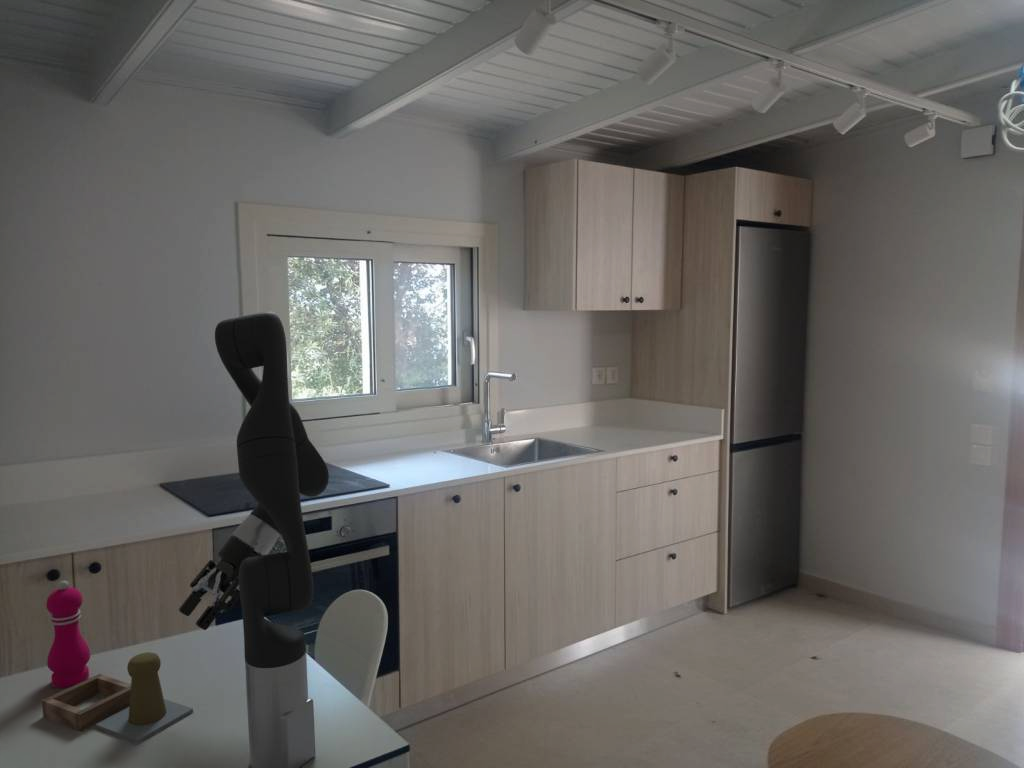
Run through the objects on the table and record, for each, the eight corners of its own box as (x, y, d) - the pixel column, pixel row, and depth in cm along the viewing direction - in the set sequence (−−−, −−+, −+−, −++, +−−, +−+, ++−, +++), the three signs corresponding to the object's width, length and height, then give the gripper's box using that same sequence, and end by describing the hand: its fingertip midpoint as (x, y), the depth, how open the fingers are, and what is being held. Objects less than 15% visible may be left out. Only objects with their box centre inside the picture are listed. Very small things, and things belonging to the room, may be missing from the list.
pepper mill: (54, 674, 149) (47, 576, 147) (95, 668, 151) (88, 572, 149) (44, 692, 142) (35, 589, 140) (87, 685, 144) (79, 585, 142)
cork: (151, 726, 128) (146, 665, 127) (120, 723, 129) (115, 662, 128) (174, 708, 134) (170, 649, 133) (144, 705, 135) (140, 646, 134)
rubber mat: (193, 711, 134) (192, 708, 134) (137, 743, 124) (137, 740, 124) (152, 697, 139) (151, 694, 139) (95, 727, 129) (95, 724, 129)
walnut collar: (137, 701, 138) (136, 686, 137) (81, 731, 128) (79, 714, 128) (100, 688, 143) (99, 673, 142) (43, 716, 133) (41, 700, 133)
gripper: (220, 526, 146) (161, 599, 139) (251, 542, 135) (189, 622, 129) (248, 546, 150) (192, 619, 143) (280, 563, 139) (222, 642, 133)
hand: (191, 620), depth 136 cm, fingers open, 8 cm apart
